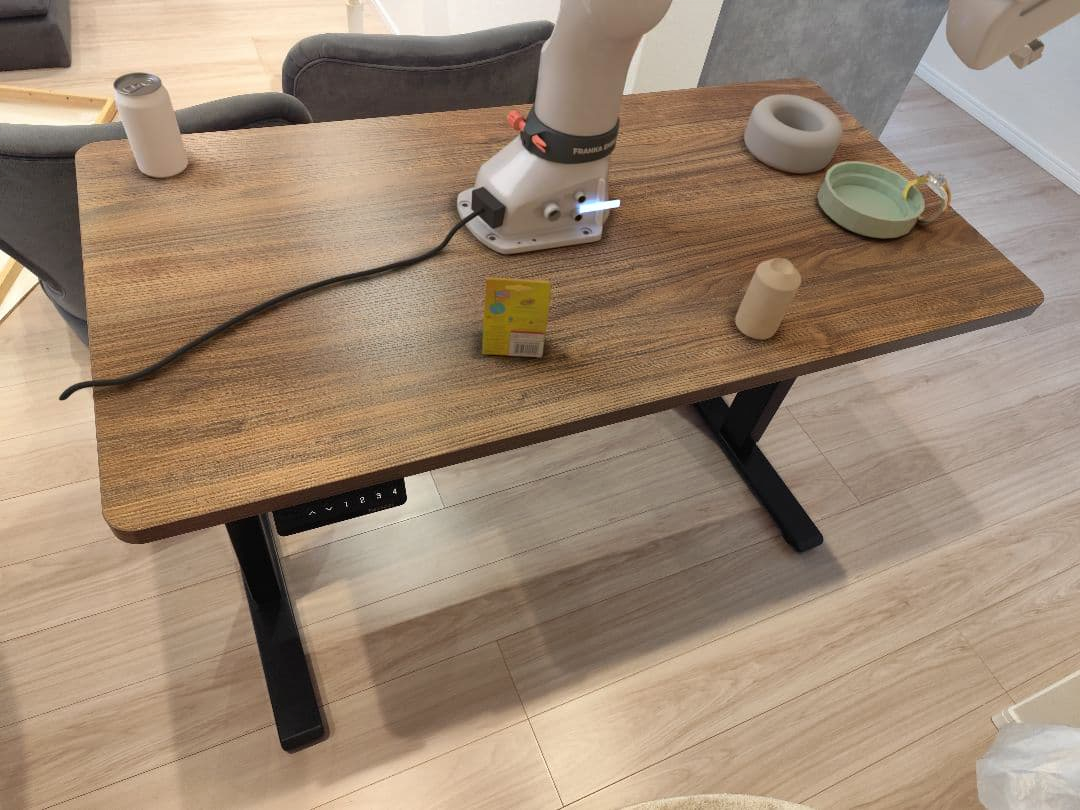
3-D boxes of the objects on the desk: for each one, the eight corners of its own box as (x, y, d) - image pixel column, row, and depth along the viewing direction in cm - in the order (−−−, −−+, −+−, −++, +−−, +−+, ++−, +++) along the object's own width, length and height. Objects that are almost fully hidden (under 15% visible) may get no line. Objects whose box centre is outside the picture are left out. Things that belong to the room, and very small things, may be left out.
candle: (776, 344, 94) (806, 285, 86) (733, 334, 94) (760, 275, 86) (775, 315, 97) (805, 256, 89) (735, 306, 97) (760, 246, 90)
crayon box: (541, 340, 89) (554, 267, 80) (542, 358, 87) (555, 285, 78) (481, 336, 89) (486, 262, 80) (480, 354, 87) (486, 280, 78)
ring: (889, 208, 116) (915, 164, 110) (903, 204, 117) (929, 160, 111) (922, 234, 112) (951, 190, 106) (936, 230, 114) (965, 186, 108)
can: (199, 165, 103) (176, 83, 94) (161, 185, 100) (133, 101, 90) (167, 147, 105) (141, 65, 96) (128, 166, 101) (97, 83, 92)
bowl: (866, 252, 108) (878, 230, 105) (795, 195, 116) (805, 173, 113) (931, 227, 114) (945, 206, 111) (860, 174, 122) (871, 153, 119)
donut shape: (786, 120, 131) (800, 84, 126) (847, 165, 123) (865, 128, 118) (723, 136, 125) (736, 99, 120) (784, 185, 117) (800, 147, 112)
